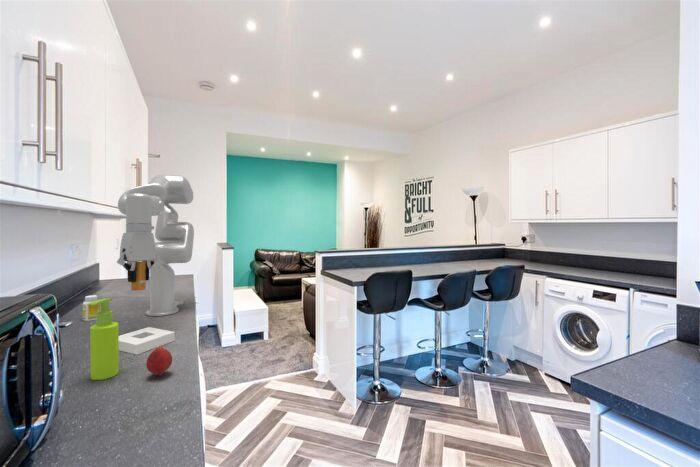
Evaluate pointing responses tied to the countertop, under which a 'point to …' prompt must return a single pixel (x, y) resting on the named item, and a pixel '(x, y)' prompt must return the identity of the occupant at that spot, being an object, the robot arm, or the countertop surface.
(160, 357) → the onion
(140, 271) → the supplement box
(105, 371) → the soap dispenser
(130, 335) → the socket block
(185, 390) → the countertop surface
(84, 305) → the supplement bottle
